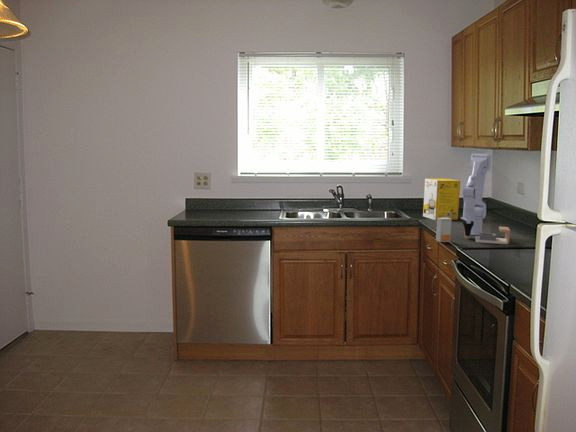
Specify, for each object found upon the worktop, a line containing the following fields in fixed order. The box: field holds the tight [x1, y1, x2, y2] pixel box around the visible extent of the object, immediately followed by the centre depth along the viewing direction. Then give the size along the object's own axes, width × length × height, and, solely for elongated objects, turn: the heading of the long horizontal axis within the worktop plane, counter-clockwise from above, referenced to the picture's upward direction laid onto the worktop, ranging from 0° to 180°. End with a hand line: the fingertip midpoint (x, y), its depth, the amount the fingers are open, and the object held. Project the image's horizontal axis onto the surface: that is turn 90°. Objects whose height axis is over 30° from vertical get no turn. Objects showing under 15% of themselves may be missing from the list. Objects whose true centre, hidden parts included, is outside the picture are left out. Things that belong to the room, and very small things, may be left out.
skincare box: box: [435, 218, 452, 243], centre depth 306 cm, size 6×4×12 cm
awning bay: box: [474, 226, 511, 245], centre depth 311 cm, size 12×16×7 cm
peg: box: [463, 231, 472, 240], centre depth 318 cm, size 3×3×6 cm
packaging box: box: [422, 178, 461, 221], centre depth 392 cm, size 16×16×25 cm
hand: (467, 235), depth 318 cm, fingers open, 4 cm apart
